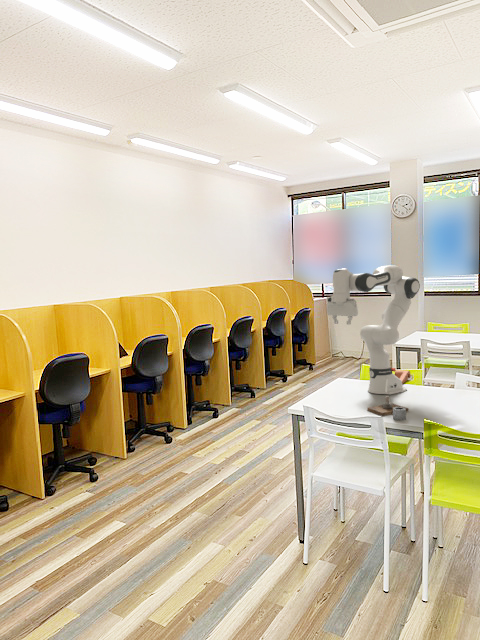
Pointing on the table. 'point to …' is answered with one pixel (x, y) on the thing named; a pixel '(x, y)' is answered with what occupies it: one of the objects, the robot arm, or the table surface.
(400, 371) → the crank
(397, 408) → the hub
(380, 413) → the stand
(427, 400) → the table surface
